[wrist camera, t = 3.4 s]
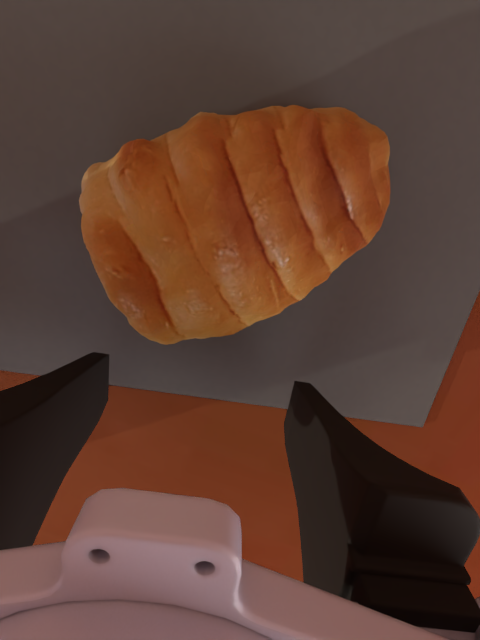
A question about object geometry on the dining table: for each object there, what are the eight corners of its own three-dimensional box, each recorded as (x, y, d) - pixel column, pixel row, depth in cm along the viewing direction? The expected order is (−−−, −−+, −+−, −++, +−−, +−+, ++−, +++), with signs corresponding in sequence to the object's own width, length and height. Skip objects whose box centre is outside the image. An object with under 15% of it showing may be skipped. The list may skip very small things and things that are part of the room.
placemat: (421, 426, 16) (422, 427, 16) (-37, 363, 15) (-39, 364, 15) (680, -199, 9) (684, -203, 9) (-142, -396, 8) (-147, -403, 8)
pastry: (346, 53, 11) (396, -4, 8) (396, 256, 13) (452, 286, 10) (81, 177, 12) (16, 177, 9) (168, 342, 15) (145, 395, 11)
